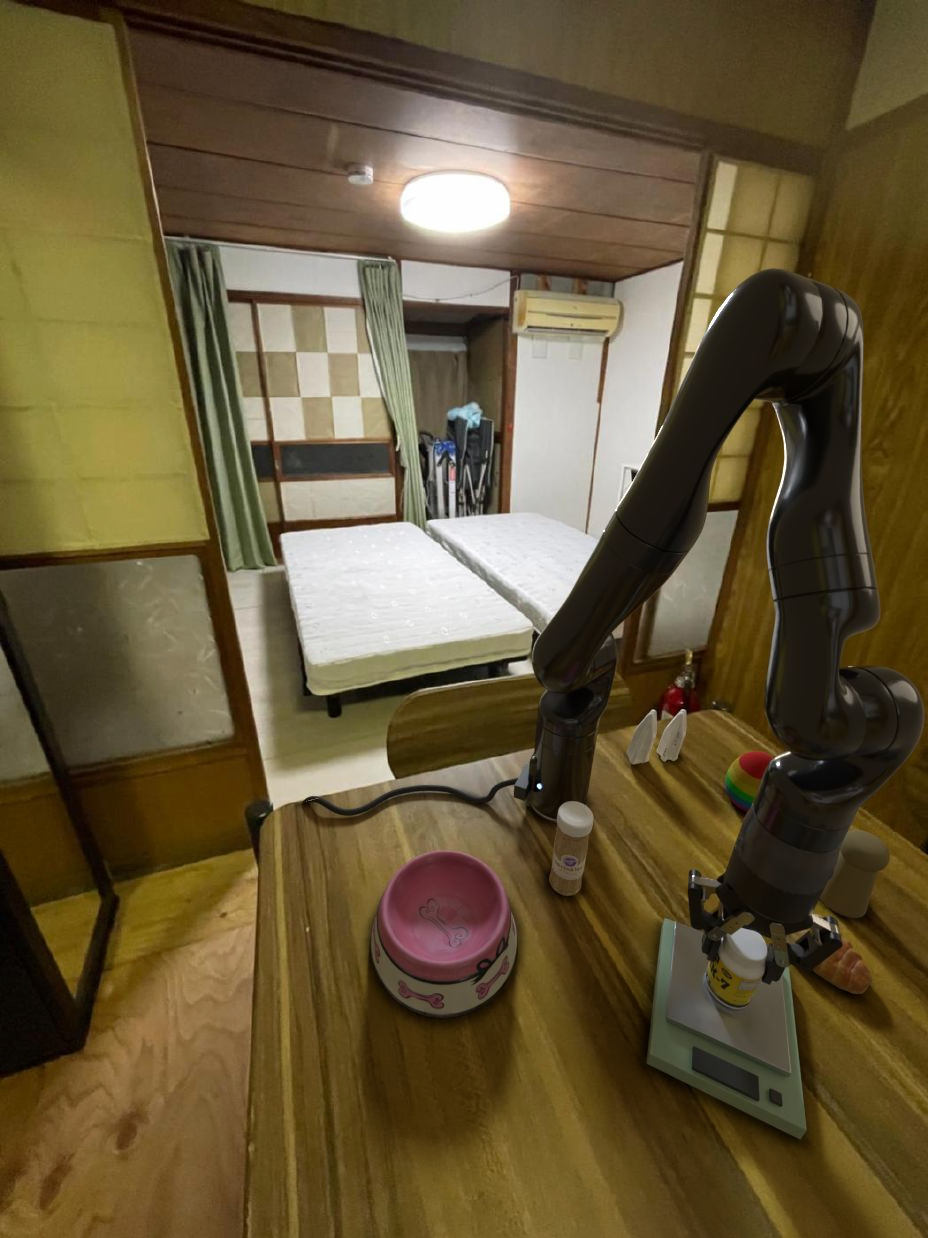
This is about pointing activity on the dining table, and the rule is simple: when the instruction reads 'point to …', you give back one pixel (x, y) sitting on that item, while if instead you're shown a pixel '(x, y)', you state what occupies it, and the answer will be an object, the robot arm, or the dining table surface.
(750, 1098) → the scale base
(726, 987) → the supplement bottle
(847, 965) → the pastry
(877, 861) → the cork
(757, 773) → the decorative egg
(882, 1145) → the dining table surface
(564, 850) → the sprinkles bottle
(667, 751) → the shaker set
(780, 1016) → the scale pan
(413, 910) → the dog bowl
